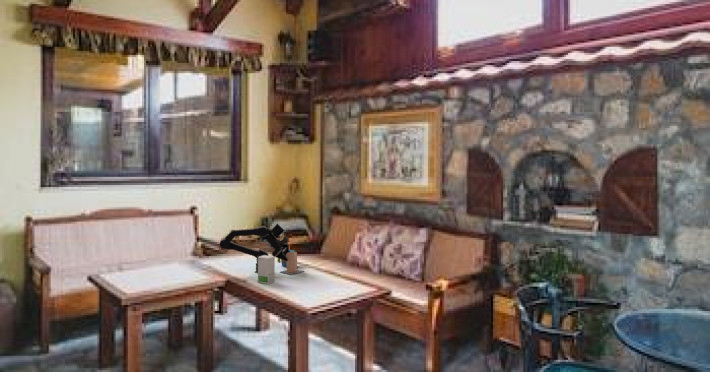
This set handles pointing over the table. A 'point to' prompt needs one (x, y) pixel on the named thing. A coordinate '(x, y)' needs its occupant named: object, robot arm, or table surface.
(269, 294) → the table surface
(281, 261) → the snack cup
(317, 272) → the table surface
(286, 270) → the slate coaster
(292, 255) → the tan rectangular block
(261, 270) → the skincare box
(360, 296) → the table surface
